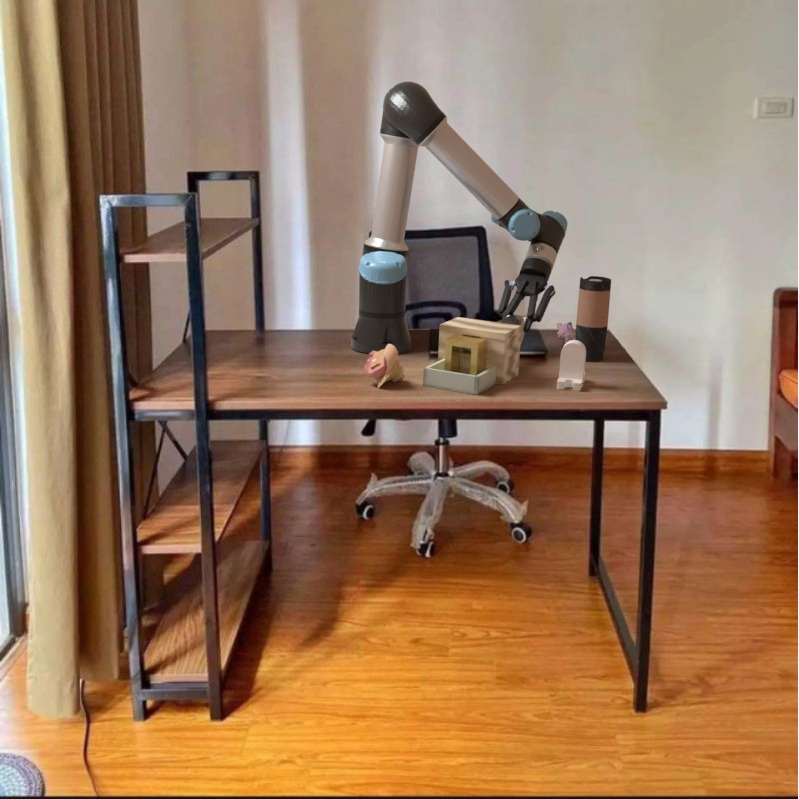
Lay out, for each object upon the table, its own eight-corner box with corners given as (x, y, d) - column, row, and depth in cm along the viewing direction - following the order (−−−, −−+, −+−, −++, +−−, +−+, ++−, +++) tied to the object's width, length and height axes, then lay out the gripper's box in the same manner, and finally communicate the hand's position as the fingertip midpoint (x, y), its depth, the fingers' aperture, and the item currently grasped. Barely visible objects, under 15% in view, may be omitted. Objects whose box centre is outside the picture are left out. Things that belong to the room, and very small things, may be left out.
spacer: (453, 374, 232) (455, 334, 230) (484, 379, 229) (486, 338, 226) (444, 379, 228) (445, 338, 225) (475, 384, 225) (477, 343, 222)
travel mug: (604, 363, 249) (611, 282, 243) (572, 360, 250) (579, 280, 245) (604, 355, 256) (611, 277, 250) (573, 353, 258) (580, 275, 252)
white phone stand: (584, 380, 233) (588, 338, 230) (580, 391, 224) (583, 347, 221) (561, 378, 235) (565, 336, 232) (556, 389, 225) (559, 345, 223)
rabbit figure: (584, 351, 266) (572, 330, 279) (587, 330, 263) (574, 309, 277) (561, 351, 265) (549, 329, 279) (563, 330, 263) (551, 309, 276)
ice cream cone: (396, 377, 233) (419, 355, 226) (387, 408, 226) (410, 385, 219) (363, 357, 230) (385, 333, 224) (352, 387, 223) (375, 364, 217)
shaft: (511, 328, 255) (512, 314, 254) (524, 330, 253) (525, 316, 252) (466, 350, 231) (466, 335, 230) (480, 352, 229) (481, 337, 228)
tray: (423, 385, 225) (423, 368, 224) (443, 375, 234) (444, 358, 233) (477, 394, 219) (478, 377, 218) (495, 383, 228) (496, 366, 227)
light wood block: (455, 365, 243) (457, 317, 240) (518, 375, 236) (521, 325, 233) (437, 374, 234) (439, 324, 231) (502, 384, 227) (505, 333, 224)
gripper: (504, 252, 260) (475, 327, 251) (566, 259, 253) (538, 336, 243) (510, 270, 266) (482, 344, 257) (571, 277, 259) (544, 353, 250)
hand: (509, 340), depth 250 cm, fingers closed on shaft, 3 cm apart
